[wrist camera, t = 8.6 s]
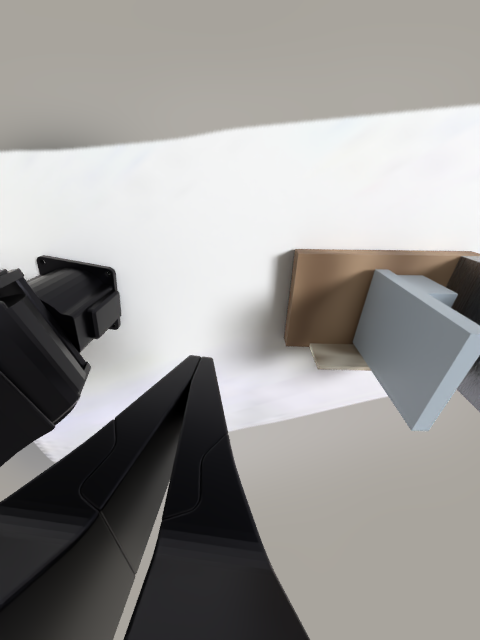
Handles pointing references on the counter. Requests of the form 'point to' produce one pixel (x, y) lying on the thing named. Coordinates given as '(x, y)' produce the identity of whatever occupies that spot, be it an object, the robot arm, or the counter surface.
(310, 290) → the gauge frame
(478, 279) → the brushed steel plate
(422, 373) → the pale blue shelf board
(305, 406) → the counter surface
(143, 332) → the counter surface
